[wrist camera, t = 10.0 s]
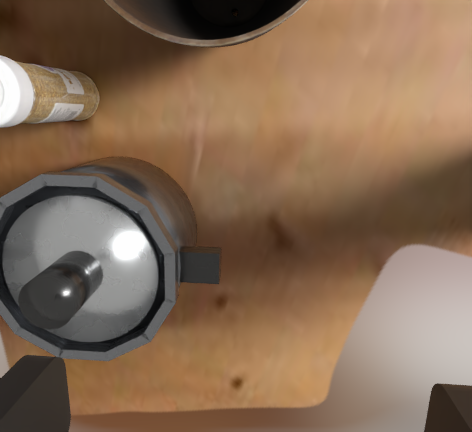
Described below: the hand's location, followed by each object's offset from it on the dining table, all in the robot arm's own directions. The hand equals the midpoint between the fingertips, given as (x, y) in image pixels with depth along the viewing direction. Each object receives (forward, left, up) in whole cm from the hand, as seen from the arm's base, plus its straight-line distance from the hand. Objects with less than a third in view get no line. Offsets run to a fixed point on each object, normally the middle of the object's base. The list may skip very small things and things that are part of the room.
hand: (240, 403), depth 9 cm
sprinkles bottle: (+17, -7, -31) cm, 36 cm away
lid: (+13, +6, -21) cm, 25 cm away
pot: (+13, +6, -31) cm, 34 cm away
